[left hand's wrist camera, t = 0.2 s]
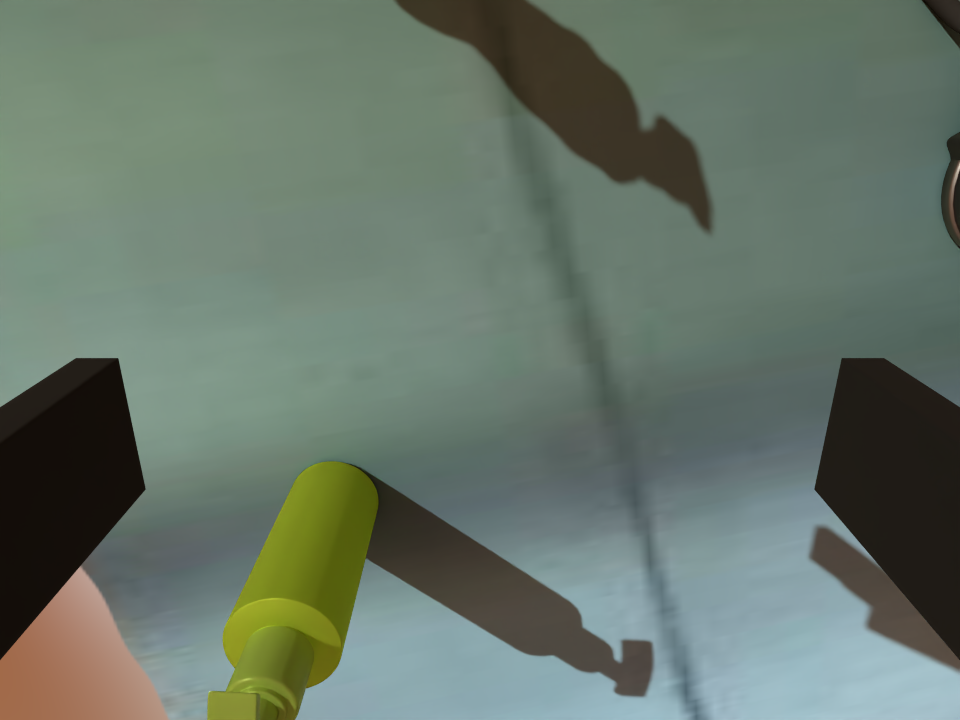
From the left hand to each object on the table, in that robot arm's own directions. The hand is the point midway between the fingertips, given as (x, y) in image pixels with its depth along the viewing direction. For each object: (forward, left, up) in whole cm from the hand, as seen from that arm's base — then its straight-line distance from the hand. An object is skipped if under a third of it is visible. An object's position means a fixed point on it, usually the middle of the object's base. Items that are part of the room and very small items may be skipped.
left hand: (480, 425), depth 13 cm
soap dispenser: (-19, +10, -28) cm, 35 cm away
